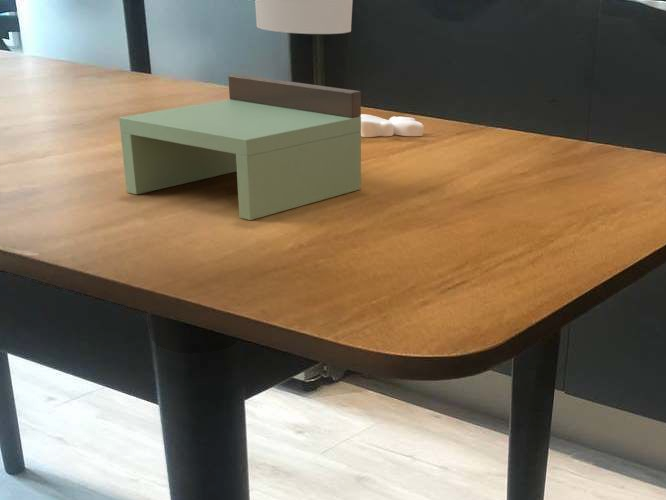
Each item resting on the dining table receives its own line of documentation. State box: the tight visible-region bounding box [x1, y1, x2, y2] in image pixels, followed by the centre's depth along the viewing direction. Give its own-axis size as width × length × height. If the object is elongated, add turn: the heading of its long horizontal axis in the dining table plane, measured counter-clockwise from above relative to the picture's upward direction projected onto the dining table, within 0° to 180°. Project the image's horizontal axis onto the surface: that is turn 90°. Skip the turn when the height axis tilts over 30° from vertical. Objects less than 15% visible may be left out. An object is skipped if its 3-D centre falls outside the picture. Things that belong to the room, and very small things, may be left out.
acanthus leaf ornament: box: [360, 113, 425, 138], centre depth 117 cm, size 8×7×2 cm
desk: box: [118, 73, 362, 221], centre depth 90 cm, size 14×14×8 cm
